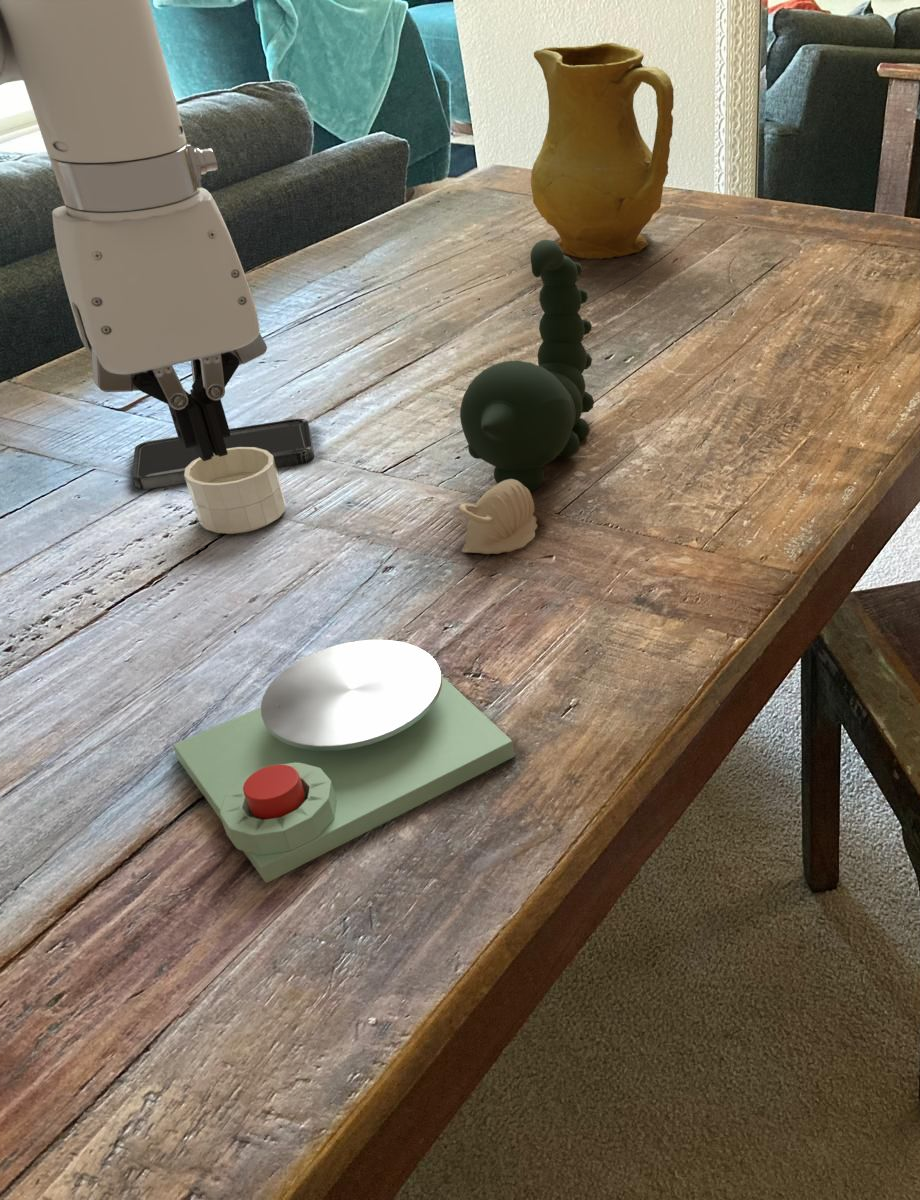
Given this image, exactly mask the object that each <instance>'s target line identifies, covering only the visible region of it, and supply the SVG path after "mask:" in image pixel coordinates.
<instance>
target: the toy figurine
mask: <svg viewBox="0 0 920 1200" xmlns="http://www.w3.org/2000/svg"><path fill="white" fill-rule="evenodd" d="M530 264H531V272H532V275H533V276H534V277H535V278H540V279H541V282H542V283H543V285H542V287H541V289H540V291H539V299H538V301H539V304H540V308H541V310H542V312H543V315H542V316H541V318H540V320H539V326H538V327H539V328H538V330H539V334H540V338H541V340H542V342H541V343H540V346H539V348H538V351H537V364H535V363H533V362H529V361H522V360H506V361H505V360H504V361H502V362H498V363H494V364H492V365H490V366H489V367H487V368H485V369H483V370H482V371H481V372H479V373H478V374H477V375H476V376H475V377H474V378H473V379H472V381H471V382H470V383H469V384H468V386H467V388H466V390H465V392H464V394H463V397H462V400H461V404H460V408H459V409H460V410H459V418H460V425H461V429H462V432H463V435H464V437H465V440H466V442H467V444H468V449H467V450H468V453H469V455H470V456H471V457H472V458H474V459H477V460H482V461H484V462H485V463H488V464H490V465H492V466H493V467H495V468H494V471H493V477H494V481H495V483H496V484H498V483H500V482H502V481H504V480H508V479H514V480H517V481H519V482H520V483H522V484H523V485H524V486H525V487H526V488H528V490H529V491H530V492H532V491H536V490H537V489H538V488H539V487H541V485H542V484H543V481H544V475H545V474H544V469H543V468H542V467H543V466H545V465H547V464H549V463H551V462H552V461H554V460H555V459H556V458H557V457H558V456H559V457H560V458H571V457H574V455H576V454H578V451H579V449H580V447H581V442H580V441H582V440H584V439H586V438H587V437H588V436H589V433H590V426H589V424H588V422H587V421H586V419H584V418H581V417H582V414H583V413H589V412H590V411H591V410H593V408H594V404H595V399H594V397H593V396H592V394H590V393H589V392H587V391H586V382H585V378H584V375H583V373H584V371H585V370H588V369H589V368H590V367H591V366H592V361H593V358H592V356H591V354H590V353H589V352H587V351H586V349H585V346H584V344H583V343H582V341H583V339H584V337H585V335H588V334H589V333H591V332H592V328H593V327H592V323H591V321H590V320H588V319H585V318H584V319H583V318H582V316H581V315H580V314H579V311H580V310H581V306H582V305H583V304H585V303H587V300H588V299H589V296H588V292H587V291H586V290H585V289H584V288H582V287H578V285H577V284H576V283H577V282H578V277H579V276H580V275H581V274H582V272H583V266H582V265H581V263H580V262H578V261H573V260H572V259H571V258H570V256H567V255H566V254H565V253H563V250H562V248H561V247H560V246H559V245H558V244H557V241H554V240H550V239H542V240H540V241H538V242H536V243H535V244H534V245H533V246H532V248H531V252H530Z"/></svg>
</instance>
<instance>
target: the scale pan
mask: <svg viewBox="0 0 920 1200" xmlns="http://www.w3.org/2000/svg"><path fill="white" fill-rule="evenodd" d="M442 676H443V675H442V671H441V668H440V666H439V663H438V662H437V660H436V659H435V658H434V657H433V656H432V655H431V654H430V653H428V651H426V650H425V649H422V648H421V647H419V646H416V645H413V644H411V643H408V642H404V641H399V640H391V639H365V640H363V639H361V640H355V641H349V642H344V643H340V644H335V645H332V646H330V647H325V648H323V649H321V650H317V651H315V652H313V653H311V654H309V655H306V656H304V657H303V658H301V659H299V660H297V661H296V662H293V664H291V665H289V666H288V667H286V668H285V669H284V670H283V671H282V672H280V673H279V674H278V675H277V676H276V677H275V678H274V679H273V680H272V682H270V684H269V685H268V687H267V688H266V690H265V692H264V694H263V697H262V699H261V703H260V707H261V716H262V719H263V722H264V724H265V726H266V728H267V729H268V731H269V732H270V733H271V734H272V735H273V736H274V737H276V738H277V739H279V740H280V741H282V742H284V743H286V744H288V745H291V746H294V747H297V748H302V749H307V750H317V751H336V750H346V749H352V748H358V747H362V746H366V745H370V744H373V743H376V742H379V741H382V740H384V739H387V738H389V737H391V736H394V735H396V734H398V733H400V732H401V731H403V730H405V729H407V728H408V727H410V726H411V725H413V724H414V723H416V722H417V721H418V720H419V719H421V718H422V717H423V716H424V715H425V714H426V713H427V712H428V711H429V710H430V709H431V707H432V706H433V705H434V704H435V702H436V700H437V699H438V697H439V694H440V691H441V687H442Z"/></svg>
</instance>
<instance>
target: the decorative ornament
mask: <svg viewBox="0 0 920 1200" xmlns="http://www.w3.org/2000/svg"><path fill="white" fill-rule="evenodd" d="M458 511H459V513H460V514H461V515H462V516H464V517H465V518H467V519H468V522H467V526H466V535H465V536H466V537H465V543H464V545H463V548H462V550H461V553H463V554H464V553H465V554H466V553H467V554H468V553H470V554H471V553H473V554H478V553H479V554H483V555H490V554H493V555H494V554H495V555H499V554H503V553H511V552H514V551H516V550H519V549H522V548H524V547H526V546H527V544H529V543H531V541H533V540H534V539H535V537H536V530H537V529H538V524H537V520H538V518H537V517H536V516H535V515H534V512H535V503H534V499H533V496H532V493H531V491H529V490H528V488H526V487H525V486H524V485H523V484H522V483H520V482H519V481H517V480H514V479H508V480H504V481H502V482H500V483H498V484H497V483H496V484H495V485H493V486H492V487H491V488H489V489H488V490H487V491H485V492H484V493H483V494H482V496H481V497H480V498H479V499H478V501H476V503H475V504H474V503H468V502H464V503H461V504H460V505H459V506H458Z"/></svg>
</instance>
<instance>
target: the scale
mask: <svg viewBox="0 0 920 1200" xmlns="http://www.w3.org/2000/svg"><path fill="white" fill-rule="evenodd" d="M172 747H173V750H174V752H175V755H176V757H177V760H178V762H179V763H180V765H181V766H182V767H183V769H184V771H185V772H186V773H187V774H188V776H189V777H190V779H191V780H192V782H193V783H194V784H195V786H196V787H197V789H198V790H199V791H200V793H201V794H202V795H203V797H204V798H205V800H206V801H207V802H208V804H209V805H210V807H211V809H213V811H214V813H215V814H216V816H217V817H218V818H219V819H220V821H221V823H222V825H223V829H224V832H225V834H226V836H227V837H228V839H229V840H230V842H231V843H232V845H233V846H234V847H235V848H236V849H237V850H239V851H242V852H243V853H244V855H245V856H246V857H247V859H248V860H249V861H250V863H251V864H252V866H253V867H254V869H255V870H256V871H257V873H258V874H259V876H260V877H261V878H262V881H264V883H266V884H267V883H270V882H271V881H273V880H276V879H278V878H279V877H281V876H283V875H285V874H287V873H289V872H291V871H293V870H295V869H296V868H299V867H301V866H303V865H305V864H306V863H310V861H313V860H315V859H316V858H318V857H320V856H322V855H324V854H326V853H328V852H330V851H332V850H335V849H336V848H338V847H340V846H342V845H344V844H346V843H349V842H350V841H352V840H354V839H356V838H358V837H359V836H362V835H364V834H366V833H367V832H369V831H371V830H373V829H375V828H377V827H379V826H382V825H384V824H385V823H387V822H390V821H391V820H393V819H396V818H397V817H399V816H401V815H403V814H405V813H407V812H408V811H410V810H411V811H412V809H415V808H417V807H418V806H421V805H423V804H424V803H426V802H428V801H431V800H433V799H434V798H436V797H438V796H440V795H442V794H444V793H446V792H448V791H451V790H452V789H454V788H456V787H458V786H460V785H462V784H464V783H466V782H468V781H469V780H472V779H473V778H476V777H477V776H479V775H481V774H483V773H485V772H487V771H490V770H491V769H493V768H495V767H497V766H499V765H501V764H503V763H505V762H507V761H508V760H511V759H512V758H515V757H516V754H515V753H516V752H515V747H514V742H513V740H512V739H511V738H510V737H509V736H508V735H506V733H504V732H503V731H502V730H501V729H500V728H499V727H498V726H497V725H496V724H495V723H494V722H493V721H491V719H489V717H487V716H486V715H485V714H484V713H483V712H482V711H481V710H480V709H479V708H478V707H476V705H474V704H473V703H472V702H471V701H470V700H469V699H468V698H467V697H466V696H465V695H464V694H462V693H461V692H460V691H459V689H457V688H456V687H454V685H453V684H452V683H450V681H448V680H447V679H446V677H444V676H443V675H442V687H441V691H440V694H439V697H438V699H437V700H436V702H435V704H434V705H433V706H432V707H431V709H430V710H429V711H428V712H427V713H426V714H425V715H424V716H423V717H422V718H421V719H419V720H418V721H417V722H416V723H414V724H413V725H411V726H410V727H408V728H407V729H405V730H403V731H401V732H400V733H398V734H396V735H394V736H391V737H389V738H387V739H384V740H382V741H379V742H376V743H373V744H370V745H366V746H362V747H358V748H352V749H346V750H336V751H317V750H307V749H302V748H297V747H294V746H291V745H288V744H286V743H284V742H282V741H280V740H279V739H277V738H276V737H274V736H273V735H272V734H271V733H270V732H269V731H268V729H267V728H266V726H265V724H264V722H263V719H262V716H261V706H260V707H258V708H255V709H253V710H251V711H247V712H246V713H244V714H241V715H239V716H236V717H233V718H232V719H229V720H227V721H225V722H223V723H219V724H218V725H216V726H213V727H210V728H208V729H206V730H203V731H202V732H199V733H197V734H194V735H191V736H189V737H187V738H185V739H183V740H180V741H178V742H175V743H173V744H172ZM272 765H288V766H291V767H293V768H295V769H296V770H297V771H298V773H299V776H300V779H301V783H302V786H303V789H304V792H305V797H304V801H303V803H302V804H301V805H300V807H299V808H298V809H296V810H295V811H293V812H291V813H289V814H286V815H284V816H282V817H280V818H273V819H260V818H257V817H255V816H254V815H253V814H252V813H251V812H250V809H249V806H248V804H247V801H246V798H245V795H244V792H243V786H244V783H245V781H246V780H247V779H248V778H249V777H250V776H251V775H252V774H253V773H255V772H256V771H258V770H260V769H262V768H265V767H268V766H272Z"/></svg>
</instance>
